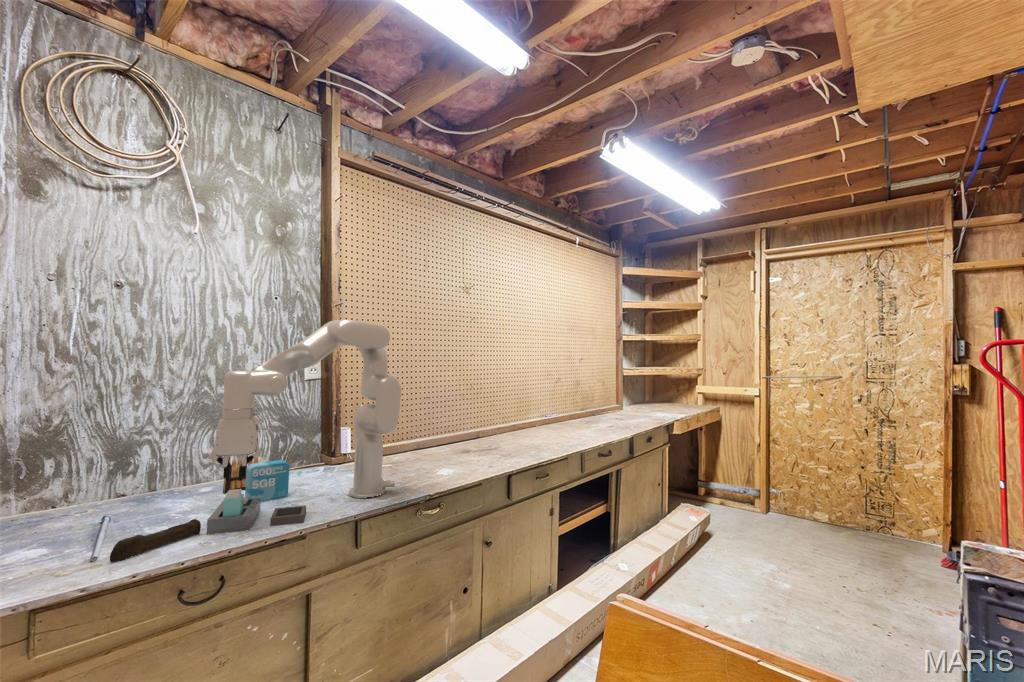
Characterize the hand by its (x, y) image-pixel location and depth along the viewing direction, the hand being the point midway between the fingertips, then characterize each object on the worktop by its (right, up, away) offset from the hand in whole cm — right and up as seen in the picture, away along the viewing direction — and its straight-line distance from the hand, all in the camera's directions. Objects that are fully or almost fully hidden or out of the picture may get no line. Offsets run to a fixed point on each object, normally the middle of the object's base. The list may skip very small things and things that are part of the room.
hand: (234, 479), depth 120 cm
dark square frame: (+12, -14, +6) cm, 19 cm away
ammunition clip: (-19, -14, +32) cm, 40 cm away
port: (-2, -13, +3) cm, 14 cm away
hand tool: (-10, -13, -14) cm, 21 cm away
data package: (-5, -14, +24) cm, 28 cm away
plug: (0, -13, -1) cm, 13 cm away
